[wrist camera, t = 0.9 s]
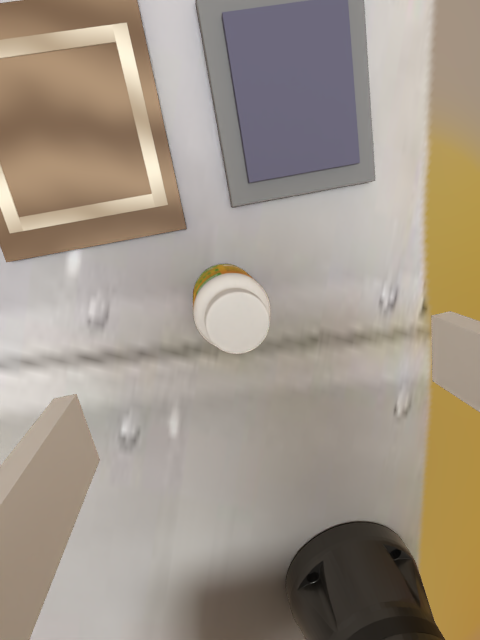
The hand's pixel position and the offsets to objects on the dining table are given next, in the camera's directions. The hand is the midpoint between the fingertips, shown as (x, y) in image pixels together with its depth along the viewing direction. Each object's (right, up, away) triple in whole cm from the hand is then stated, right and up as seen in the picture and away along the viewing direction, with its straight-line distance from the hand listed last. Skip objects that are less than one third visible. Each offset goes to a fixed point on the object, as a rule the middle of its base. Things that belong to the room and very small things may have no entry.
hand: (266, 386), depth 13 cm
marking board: (-14, +16, +13) cm, 25 cm away
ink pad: (+3, +20, +14) cm, 24 cm away
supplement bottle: (-2, +5, +18) cm, 19 cm away
